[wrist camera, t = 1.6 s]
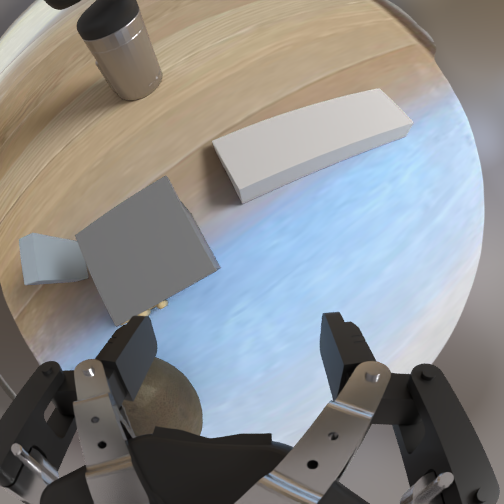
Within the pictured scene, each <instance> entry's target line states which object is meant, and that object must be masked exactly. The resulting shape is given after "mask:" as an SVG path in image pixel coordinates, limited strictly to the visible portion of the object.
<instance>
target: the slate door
mask: <svg viewBox="0 0 504 504" xmlns="http://www.w3.org/2000/svg"><path fill="white" fill-rule="evenodd" d="M19 246H20V255H21V264H22V271H23V277H24V283H25V285H36V284H52V283H66V282H76V281H80V280H83V279H87V278H88V273H87V268H86V262H85V260H84V257H83V255H82V252H81V250H80V247H79V245H78V242H77V241H74V240H68V239H63V238H58V237H52V236H47V235H42V234H37V233H31V234H29V235H27V236H25V237H23V238H20V239H19Z"/></svg>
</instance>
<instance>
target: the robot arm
mask: <svg viewBox="0 0 504 504" xmlns="http://www.w3.org/2000/svg"><path fill="white" fill-rule="evenodd" d="M44 1H45V2H46V3H47V4H48V5H50V6H51V7H52V8H54V9H58V10H62V9H65V8H68V7H70V6H72V5H74V4H76V3H78V2H79V1H81V0H44ZM77 30H78V32H79V34H80V36H81V37H82V39H83V40H84V42H85V44H86V45H87V47H88V48H89V50H90V51H91V53H92V55H93V56H94V58H95V59H96V66H97V67H98V69H99V70H100V72H101V73H102V75H103V76H104V78H105V79H106V81H107V82H108V84H109V85H110V87H111V88H112V90H113V91H114V92H117V94H118V95H119V96H120V97H121V98H122V99H124V100H137V99H140V98H143V97H145V96H147V95H149V94H150V93H152V92H153V91H154V90H155V89H156V88H157V87H158V85H159V84H160V82H161V80H162V72H161V69H160V66H159V64H158V61H157V58H156V55H155V52H154V49H153V46H152V44H151V41H150V38H149V35H148V32H147V29H146V26H145V24H144V21H143V18H142V15H141V12H140V9H139V7H138V4H137V1H136V0H96V1H95V2H94V3H93V4H92V5H91V6H90V7H89V8H88V9H87V10H86V11H85V12H84V13H83V14H82V15H81V17H80V18H79V20H78V22H77ZM156 353H157V341H156V338H155V334H154V331H153V327H152V323H151V320H150V318H149V317H148V316H135V315H134V316H132V318H131V319H130V320H129V322H128V323H127V324H126V325H123V326H122V327H120V328H119V329H117V330H116V331H115V333H114V334H113V335H112V338H110V339H109V341H108V343H106V345H105V346H104V347H103V349H102V350H101V351H100V353H99V354H98V355H97V357H96V358H95V359H88V360H85V361H83V362H81V363H79V364H78V365H77V366H76V368H75V370H70V371H62V369H61V367H60V365H59V364H58V363H57V362H55V361H49V362H45V363H43V364H42V365H40V366H39V367H38V368H37V370H36V371H35V372H34V373H33V375H32V376H31V377H30V379H29V380H28V381H27V383H26V384H25V385H24V387H23V388H22V389H21V391H20V392H19V394H18V395H17V396H16V398H15V399H14V400H13V402H12V403H11V405H10V406H9V408H8V409H7V410H6V412H5V413H4V415H3V416H2V418H1V420H0V486H1V487H2V488H3V489H4V490H6V491H7V492H8V493H10V494H11V495H12V496H14V497H15V498H17V499H18V500H20V501H22V502H23V503H25V504H370V503H368V502H366V501H365V500H364V499H362V498H361V497H359V496H358V495H356V494H355V493H354V492H352V491H351V490H349V489H348V488H347V487H345V486H344V485H343V484H341V483H340V482H339V480H340V478H341V477H342V475H343V474H344V472H345V471H346V469H347V467H348V466H349V464H350V462H351V461H352V459H353V457H354V455H355V454H356V452H357V450H358V449H359V447H360V445H361V443H362V441H363V440H364V438H365V436H366V434H367V432H368V430H369V429H370V427H371V425H372V424H389V425H392V426H393V429H394V432H395V435H396V438H397V442H398V445H399V448H400V452H401V455H402V459H403V462H404V466H405V470H406V473H407V477H408V481H409V485H410V488H409V489H408V490H407V491H406V492H405V493H404V495H403V496H402V498H401V500H400V504H496V502H497V500H498V498H499V491H500V490H499V485H498V482H497V480H496V477H495V474H494V472H493V469H492V467H491V465H490V462H489V460H488V458H487V456H486V453H485V451H484V449H483V446H482V444H481V442H480V440H479V438H478V436H477V434H476V432H475V430H474V428H473V426H472V424H471V422H470V420H469V418H468V416H467V414H466V413H465V411H464V409H463V407H462V405H461V403H460V402H459V400H458V398H457V396H456V394H455V393H454V391H453V389H452V388H451V386H450V384H449V383H448V381H447V379H446V377H445V376H444V374H443V373H442V371H441V370H440V369H439V368H438V367H436V366H434V365H431V364H420V365H417V366H416V367H414V368H413V370H412V372H411V374H396V373H391V372H390V370H389V368H388V367H387V366H386V365H384V364H382V363H380V362H376V360H375V358H374V356H373V354H372V352H371V350H370V348H369V346H368V344H367V342H365V338H364V337H363V336H362V333H361V331H360V329H359V327H357V326H356V325H355V324H353V323H352V322H344V320H343V318H342V316H341V314H340V312H332V313H323V315H322V323H321V334H320V353H321V357H322V360H323V364H324V368H325V371H326V375H327V379H328V382H329V386H330V390H331V394H332V397H333V401H332V400H331V401H330V402H329V403H328V404H327V405H326V407H325V408H324V409H323V411H322V412H321V413H320V415H319V416H318V417H317V419H316V420H315V421H314V423H313V424H312V425H311V427H310V428H309V429H308V430H307V432H306V433H305V434H304V435H303V437H302V438H301V439H300V440H299V441H298V443H297V444H296V445H295V446H294V447H292V446H289V445H286V444H283V443H279V442H274V441H272V434H271V433H267V434H237V435H231V436H225V437H218V438H206V437H202V436H199V435H196V434H193V433H190V432H187V431H184V430H179V429H171V428H164V427H158V426H155V429H154V432H153V434H145V435H141V436H137V437H136V436H135V434H134V431H133V429H132V427H131V424H130V422H129V419H128V417H127V414H126V412H125V409H124V407H123V405H122V403H123V401H124V400H127V401H133V402H134V400H135V397H136V395H137V393H138V391H139V389H140V387H141V385H142V383H143V381H144V378H145V376H146V374H147V372H148V370H149V368H150V366H151V364H152V362H153V360H154V358H155V356H156ZM50 401H52V402H53V404H54V405H55V407H56V408H55V410H54V411H53V413H52V415H51V416H50V418H49V420H48V421H47V423H46V421H45V419H44V411H45V410H46V408H47V406H48V405H49V403H50ZM76 430H78V435H79V439H80V444H81V448H82V453H83V456H84V460H85V464H86V465H84V466H82V467H81V468H79V469H77V470H75V471H73V472H71V473H69V474H67V475H65V476H63V477H61V478H59V479H58V477H59V476H58V469H59V467H60V465H61V463H62V460H63V458H64V456H65V454H66V451H67V449H68V447H69V445H70V443H71V440H72V438H73V436H74V434H75V432H76Z"/></svg>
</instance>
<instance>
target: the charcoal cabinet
mask: <svg viewBox="0 0 504 504" xmlns="http://www.w3.org/2000/svg"><path fill="white" fill-rule="evenodd" d="M75 237H76V239H77V242H78V245H79V247H80V250H81V252H82V255H83V257H84V260H85V262H86V265H87V267H88V270H89V272H90V274H91V276H92V279H93V281H94V283H95V285H96V288H97V290H98V292H99V294H100V296H101V298H102V300H103V302H104V304H105V306H106V308H107V310H108V312H109V314H110V316H111V318H112V320H113V322H114V324H115V326H116V327H117V326H119V325H123V324H125V323H127V322H129V320H130V319H131V318H132V316H134V315H135V316H148V315H150V313H151V311H150V310H151V309H153V308H154V307H156V306H157V307H158V308H159V309H162V308H164V307H166V306H167V305H168V301H167V300H166V299H167V298H169V297H171V296H173V295H175V294H176V293H178V292H180V291H182V290H183V289H185V288H187V287H189V286H191V285H192V284H194V283H196V282H198V281H200V280H201V279H203V278H205V277H207V276H208V275H210V274H212V273H214V272H216V271H217V270H218V269H220V268H221V267H220V266H219V264H218V262H217V260H216V258H215V257H214V255H213V253H212V251H211V249H210V247H209V246H208V244H207V242H206V240H205V238H204V236H203V235H202V233H201V231H200V229H199V227H198V225H197V223H196V221H195V220H194V218H193V216H192V214H191V213H190V212H189V210H188V209H187V208H186V207H185V206H184V205H183V203H182V202H181V201H180V200H179V198H178V196H177V194H176V192H175V190H174V188H173V186H172V184H171V182H170V180H169V179H168V177H167V176H164V177H162V178H161V179H159V180H157V181H156V182H154V183H152V184H151V185H149V186H147V187H146V188H144V189H142V190H141V191H139V192H138V193H136V194H134V195H133V196H131V197H130V198H128V199H127V200H125V201H124V202H122V203H120V204H119V205H117V206H116V207H114V208H113V209H111V210H110V211H109V212H107V213H106V214H104V215H103V216H101V217H100V218H98V219H97V220H96V221H94V222H93V223H91V224H90V225H89V226H87V227H86V228H85V229H83V230H82V231H80V232H79V233H78V234H76V235H75Z"/></svg>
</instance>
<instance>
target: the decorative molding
mask: <svg viewBox="0 0 504 504" xmlns="http://www.w3.org/2000/svg"><path fill="white" fill-rule="evenodd" d="M413 123H414V122H413V121H412V120H411V119H410V118H409V117H408V116H407V115H406V114H405V113H404V112H403V111H402V110H401V109H400V108H399V107H398V106H397V105H396V104H395V103H394V102H393V101H392V100H391V99H390V98H389V97H388V96H387V95H386V94H385V93H384V92H383V91H382V90H380V89H379V88H378V89H373V90H368V91H364V92H359V93H355V94H350V95H346V96H342V97H338V98H334V99H331V100H327V101H323V102H320V103H316V104H313V105H309V106H306V107H303V108H299V109H296V110H293V111H290V112H287V113H284V114H281V115H278V116H275V117H272V118H269V119H267V120H264V121H261V122H258V123H256V124H253V125H250V126H248V127H245V128H243V129H240V130H237V131H235V132H233V133H230V134H228V135H225V136H223V137H220V138H218V139H216V140H213V141H212V143H213V146H214V149H215V151H216V153H217V155H218V157H219V159H220V161H221V163H222V165H223V167H224V169H226V172H227V175H228V176H229V178H230V180H231V182H232V184H233V186H234V189H235V191H236V193H237V195H238V197H239V199H240V201H241V203H242V204H244V203H246V202H248V201H250V200H253V199H255V198H257V197H259V196H261V195H264V194H266V193H268V192H270V191H273V190H275V189H277V188H279V187H282V186H284V185H286V184H288V183H291V182H293V181H295V180H297V179H300V178H302V177H304V176H307V175H309V174H311V173H314V172H316V171H319V170H321V169H323V168H326V167H328V166H331V165H333V164H336V163H338V162H341V161H343V160H346V159H348V158H350V157H353V156H356V155H358V154H361V153H363V152H366V151H368V150H371V149H374V148H376V147H379V146H382V145H384V144H387V143H390V142H392V141H395V140H398V139H400V138H403V137H406V136H407V134H408V132H409V130H410V129H411V127H412V125H413Z"/></svg>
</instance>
